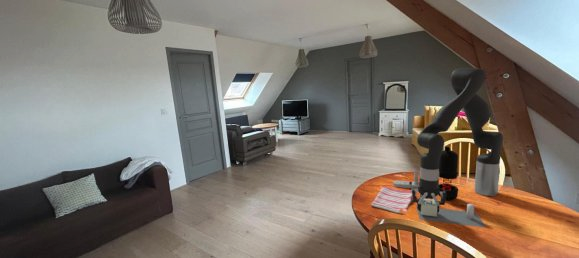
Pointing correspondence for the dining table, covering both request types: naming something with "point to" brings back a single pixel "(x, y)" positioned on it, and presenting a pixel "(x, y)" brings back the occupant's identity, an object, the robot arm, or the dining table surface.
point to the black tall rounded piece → (448, 172)
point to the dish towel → (393, 200)
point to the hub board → (455, 216)
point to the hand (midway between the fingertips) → (427, 211)
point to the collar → (429, 208)
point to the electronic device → (408, 183)
